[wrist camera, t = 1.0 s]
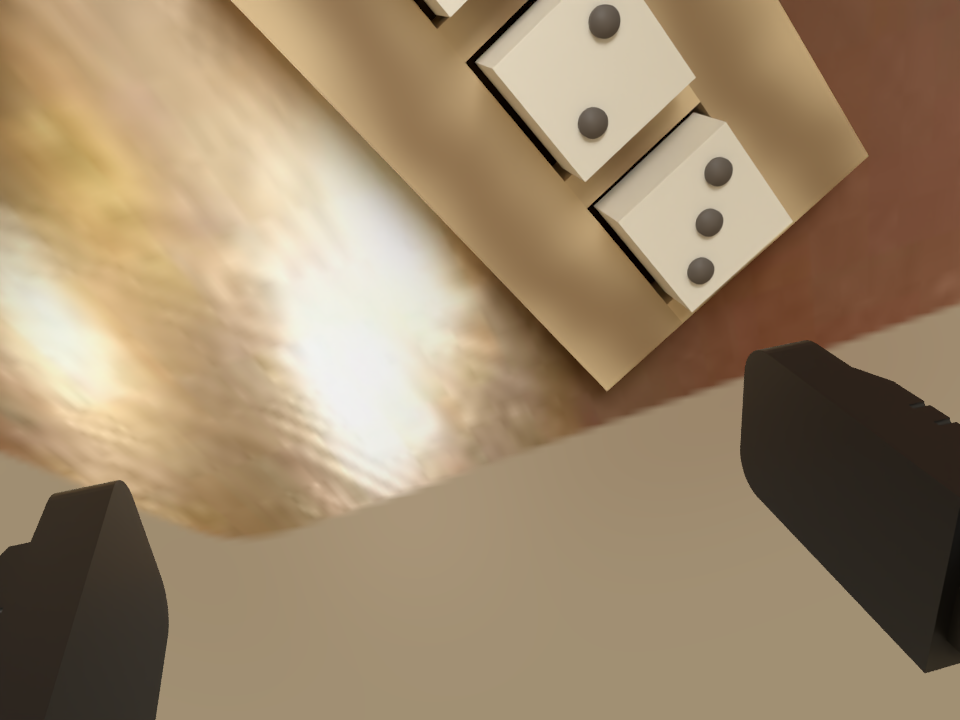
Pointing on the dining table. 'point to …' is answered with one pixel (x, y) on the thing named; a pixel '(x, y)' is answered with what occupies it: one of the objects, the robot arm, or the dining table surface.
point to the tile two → (586, 76)
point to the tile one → (444, 6)
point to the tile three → (694, 210)
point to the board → (551, 189)
